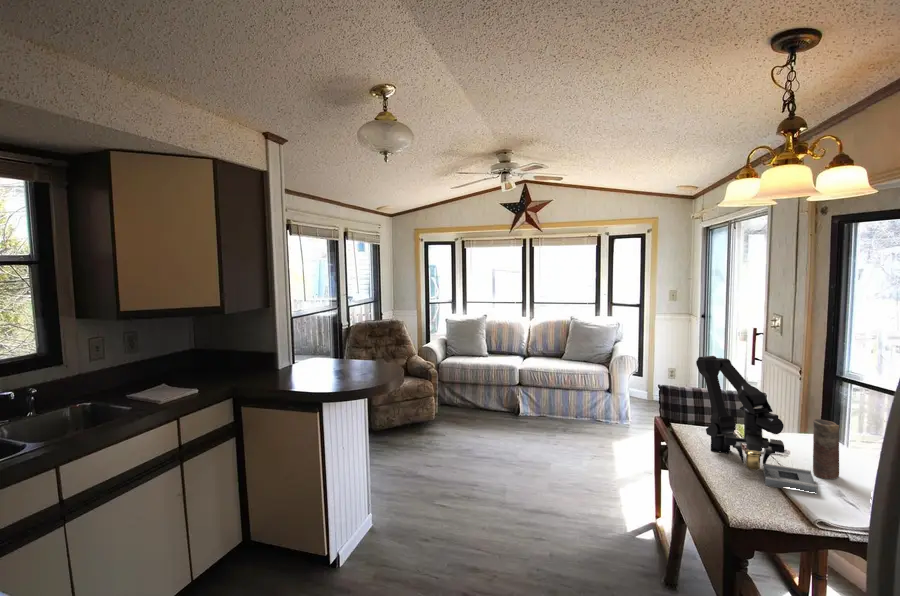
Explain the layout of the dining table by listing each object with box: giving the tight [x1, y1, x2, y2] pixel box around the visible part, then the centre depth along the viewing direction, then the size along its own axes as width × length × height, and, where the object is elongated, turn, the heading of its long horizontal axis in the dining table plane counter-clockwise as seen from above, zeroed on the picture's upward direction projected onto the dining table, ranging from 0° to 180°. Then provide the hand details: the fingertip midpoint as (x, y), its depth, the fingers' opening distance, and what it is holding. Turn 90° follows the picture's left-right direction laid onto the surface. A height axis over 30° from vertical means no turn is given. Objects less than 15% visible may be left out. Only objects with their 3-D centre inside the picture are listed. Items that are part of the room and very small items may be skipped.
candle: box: [812, 418, 840, 480], centre depth 162 cm, size 8×7×20 cm
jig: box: [762, 462, 818, 493], centre depth 159 cm, size 14×12×3 cm
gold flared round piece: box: [744, 449, 762, 471], centre depth 171 cm, size 5×5×6 cm
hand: (753, 464), depth 171 cm, fingers open, 6 cm apart
